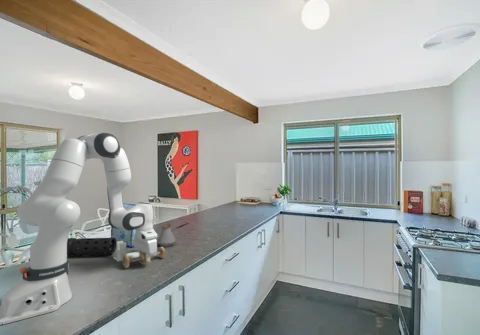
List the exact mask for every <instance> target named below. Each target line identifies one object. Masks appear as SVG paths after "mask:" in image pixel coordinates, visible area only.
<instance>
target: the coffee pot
mask: <svg viewBox="0 0 480 335" xmlns="http://www.w3.org/2000/svg"><path fill="white" fill-rule="evenodd" d="M187 225H188V227H190V223H189V222H187V223H184V224H180V225H179V226H176V227H173V228H172V226H173V224H171V223H169V224H168V223H166V224H162V225H161V228H162V230H161V233H160V234H159V236H158V237H159V238H158V239H157V245H159V246H160V247H163V248H166V247H167V248H169V247H172V246H173V245H175V243H176V242H177V238H176V236H175V234H174V232H173V231H175V230H177V229H180V228H182V227H184V226H187Z"/></svg>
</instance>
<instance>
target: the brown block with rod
mask: <svg viewBox="0 0 480 335" xmlns="http://www.w3.org/2000/svg"><path fill="white" fill-rule="evenodd" d="M156 256H158V257H159V259H163V258H165V257H166V250H165V247H162V246H159V247H158V248H157V251H156V253H155V254H152V255H150V257H149V261H146V260H145V257H146V253H145V252H142V253H139V257H135V258H131V259H129V257H128V256H127V255H126V256H123V261H122V266H123V268H124V269H128V268H130V265H131V263H134V262H137V261H138V262H139V263H138V264H140V265H142V266H143V265H147V264H150V263H151V258H153V257H156Z"/></svg>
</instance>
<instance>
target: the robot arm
mask: <svg viewBox="0 0 480 335" xmlns="http://www.w3.org/2000/svg"><path fill="white" fill-rule="evenodd" d="M87 159H88V160H89V159H100V161H102V162H101V163H103V167H104V168H103V169H104V173H105V179H106V191H107V192H106V193H107V199H108V201H107V202H108V206H109V211H108V216H107V217H108V218H107V220H108V221H107V222H108V224H109V226H110V228H111V227H113V228H117V229H123V230H128V231H131V230H135V236H134V247H133V248H136V249H137V250H138V251H139V253H142V252H145V253H146V257H145V260H146V261H149V257H150V255H152V254H155V253H156V252H158V239H157V238H158V233H157V232H156V231H155V229H154V224H153V221H154V209H153V205H152V204H151V203H150V202H142V201H140V202H136V204H135V206H134V207H133V208H131V209H129V210H125V209H124V207H123V204H124V203H123V197H122V196H123V193H122V192H123V190H124V188H125V187H127V186H128V185H129V184H130V183H131V181H132V171H131V167H130V166H131V164H130V162H129V159H128V156H127V153H126V152H125V150H124V149H123V148H122V147H121V145H120V142H119V140H118V138H117V137H116V136H115V135H114V134H112V133H109V132H99V133H90V134H86V135H81V136H79V137H77V138H73V137H70V138H66V139H64V140H62V142H61V143H60V144H59V145H58V147H57V148H56V150H55V152H54V154H53V156H52V157H51V160H50V163H49V165H48V167H47V169H46V172H45V174H44V176H43V178H42V180H41V182H40V183H39V184H38V185H37V187H36V188H35V190H34V191H33V192H32V193H31V195H30V196H29V197H27V199H25V200H24V201H22V202H21V203H20V204H19V205H18V207H17V210H16V215H17V217H18V219H19V220H20V222H23V223H25V224H27V225H28V226H33V227H38V232H37V235H36V238H35V240H34V241H33V242H31V244H30V246H29V267H26V266H23V267H21V268H20V270H19V272H20V274H22V279H21V280H20V281H18V282H17V284H15V285H13V287H11V288H10V289H9V290H7V291H6V292H5V294H4V295H3V298H2V300H1V304H0V326H3V325H7V324H10V323H14V322H17V321H21V320H26V319H30V318H33V317H36V316H40V315H41V316H42V315H43V314H48V313H52V312H55V311H57V310H58V309H59V308H60V307H61V306H63V305H64V304H66V303H68V302H69V301H70V300H71V299H72V298H73V293H72V290H71V286H70V281H69V271H70V266H69V265H70V264H69V260H68V256H67V240H68V238H69V235H70V233H71V229H72V227H73V226H74V225H75V224H76V223H77V222H78V221H79V219H80V217H81V208H80V206H79V205H78V203H76V202H75V201H72V200H71V199H67V198H66V197H67V196H68V194H69V193H70V192H71V191H73V190H74V189H75V188H76V187H77V186H78V183H79V180H80V177H81V175H82V172H83V169H84V167H85V164H86V161H87ZM150 258H151V257H150ZM2 324H3V325H2Z"/></svg>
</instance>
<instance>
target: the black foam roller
mask: <svg viewBox="0 0 480 335" xmlns="http://www.w3.org/2000/svg"><path fill="white" fill-rule="evenodd" d="M116 251H117V242H116V239H115V238H111V237H90V238H89V237H87V238H85V237H84V238H83V237H82V238H81V237H79V238H76V237H68V240H67V257H68V256H73V257H74V256H76V257H81V256H92V257H93V256H96V257H97V256H113V254H114V253H115V252H116Z"/></svg>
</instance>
